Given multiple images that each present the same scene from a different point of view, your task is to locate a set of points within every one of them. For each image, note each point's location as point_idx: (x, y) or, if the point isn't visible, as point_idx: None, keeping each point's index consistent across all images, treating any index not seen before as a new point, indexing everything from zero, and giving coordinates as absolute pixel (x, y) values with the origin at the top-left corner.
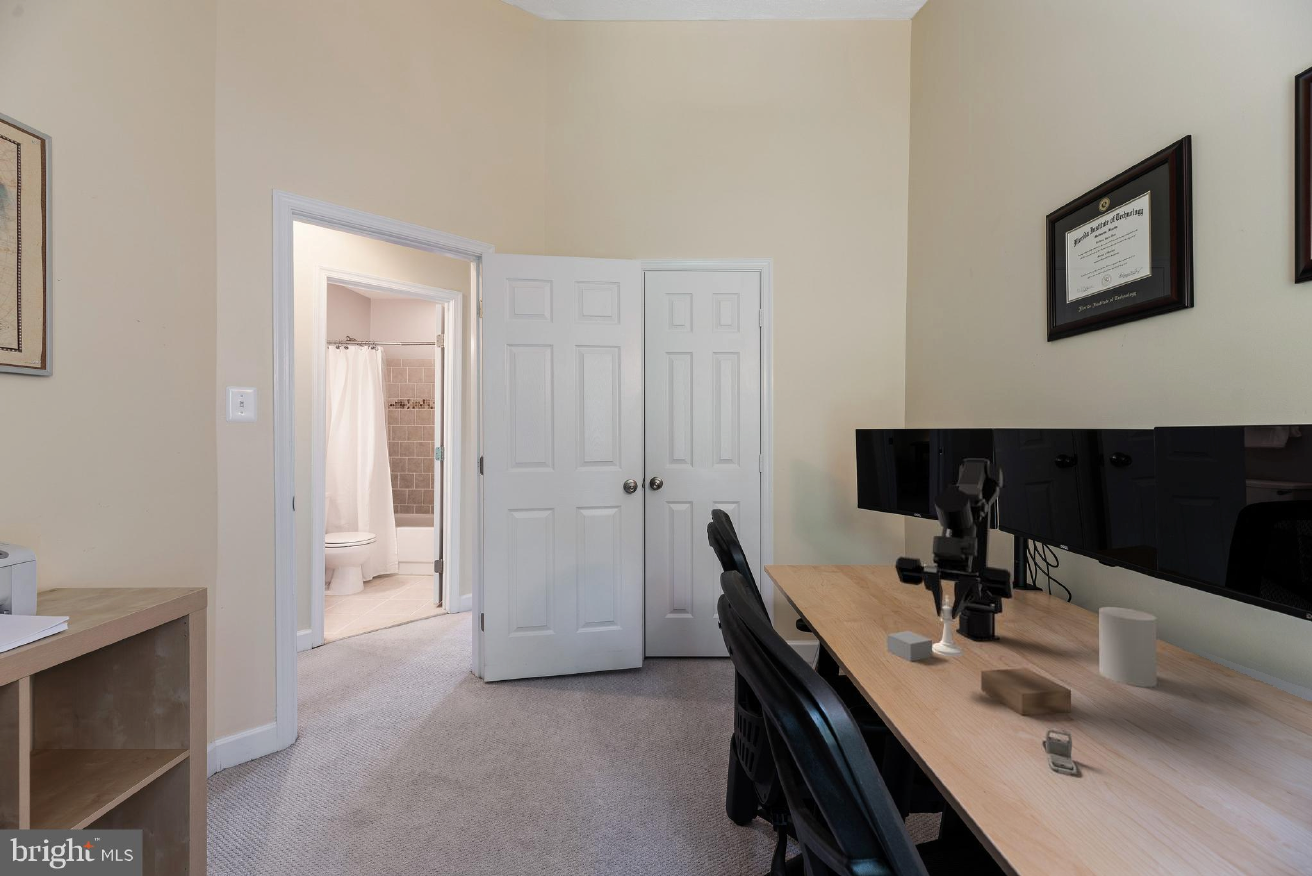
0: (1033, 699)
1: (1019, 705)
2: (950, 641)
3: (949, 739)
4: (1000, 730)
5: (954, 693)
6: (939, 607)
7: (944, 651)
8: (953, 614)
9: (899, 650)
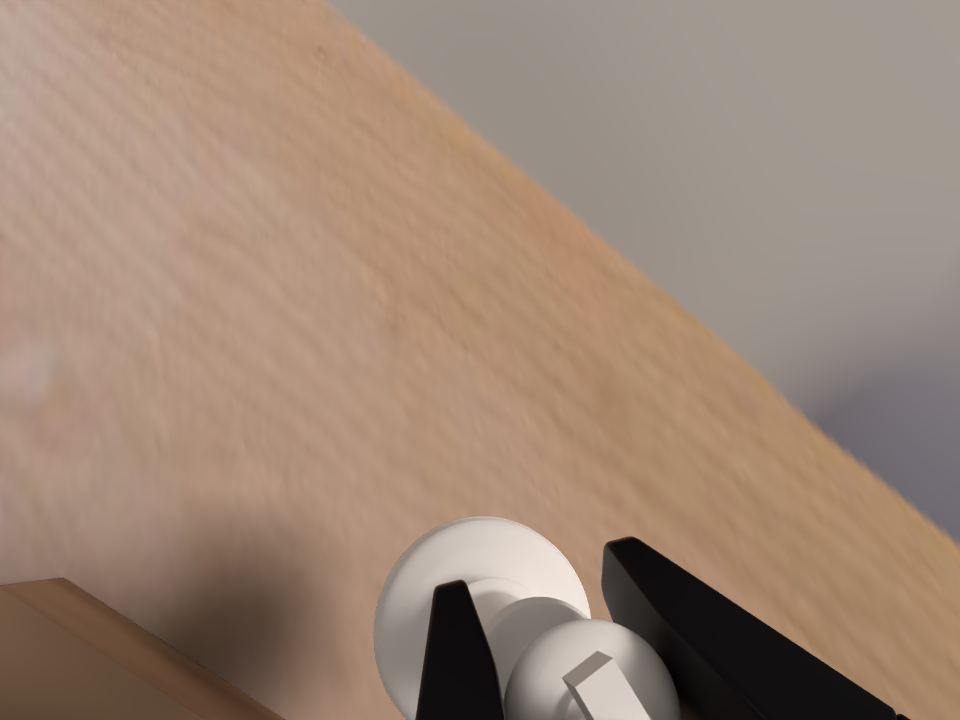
0: None
1: (53, 587)
2: None
3: (259, 122)
4: (119, 334)
5: None
6: (655, 592)
7: (467, 525)
8: (446, 595)
9: None
